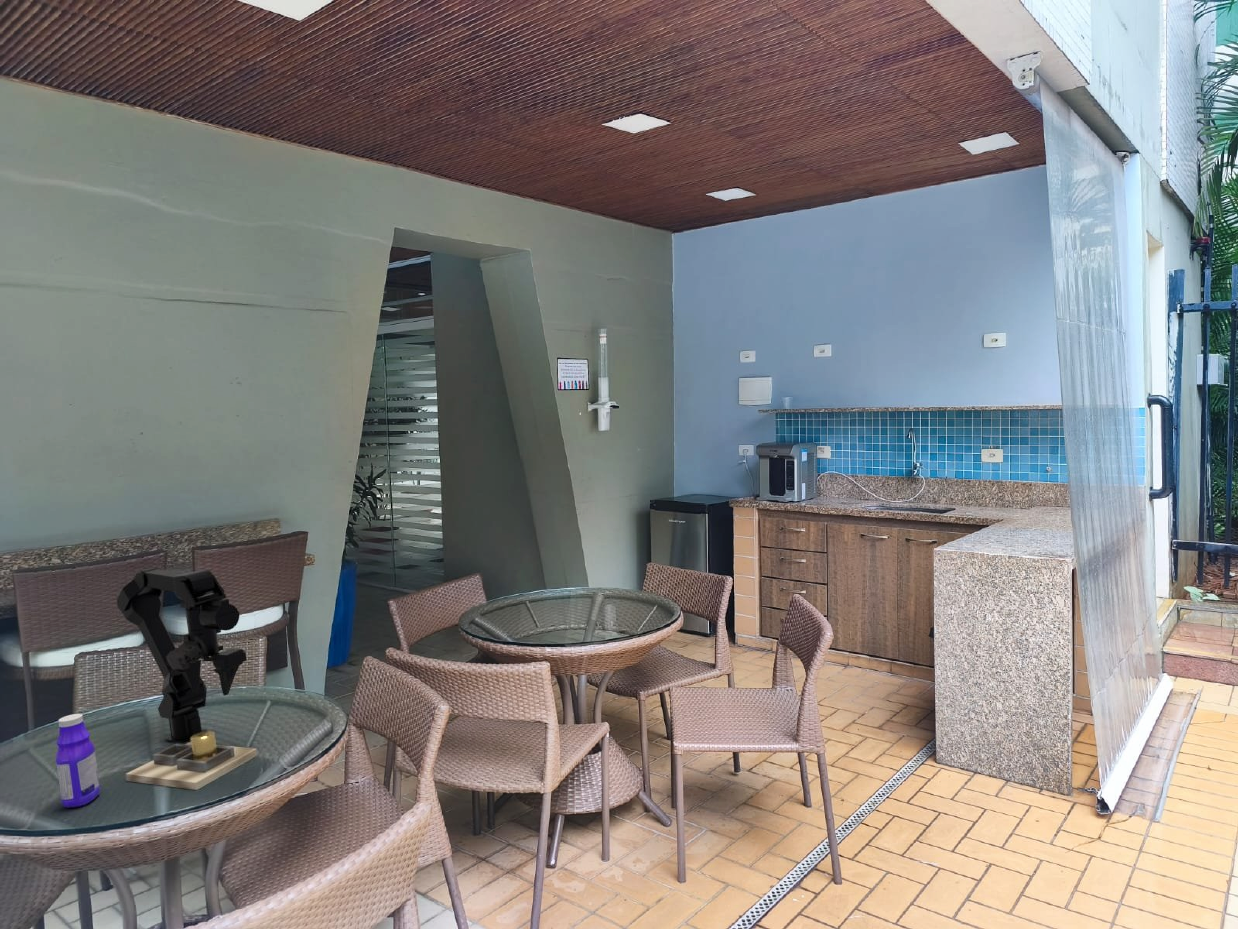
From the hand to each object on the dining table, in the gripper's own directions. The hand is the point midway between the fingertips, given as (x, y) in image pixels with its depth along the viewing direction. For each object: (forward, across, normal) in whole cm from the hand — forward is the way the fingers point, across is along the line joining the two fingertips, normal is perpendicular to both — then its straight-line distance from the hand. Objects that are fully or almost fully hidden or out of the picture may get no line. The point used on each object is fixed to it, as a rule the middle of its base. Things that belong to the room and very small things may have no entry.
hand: (210, 693), depth 190 cm
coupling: (+10, +9, -11) cm, 18 cm away
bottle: (+12, -6, -28) cm, 31 cm away
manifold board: (+12, +5, -11) cm, 17 cm away
